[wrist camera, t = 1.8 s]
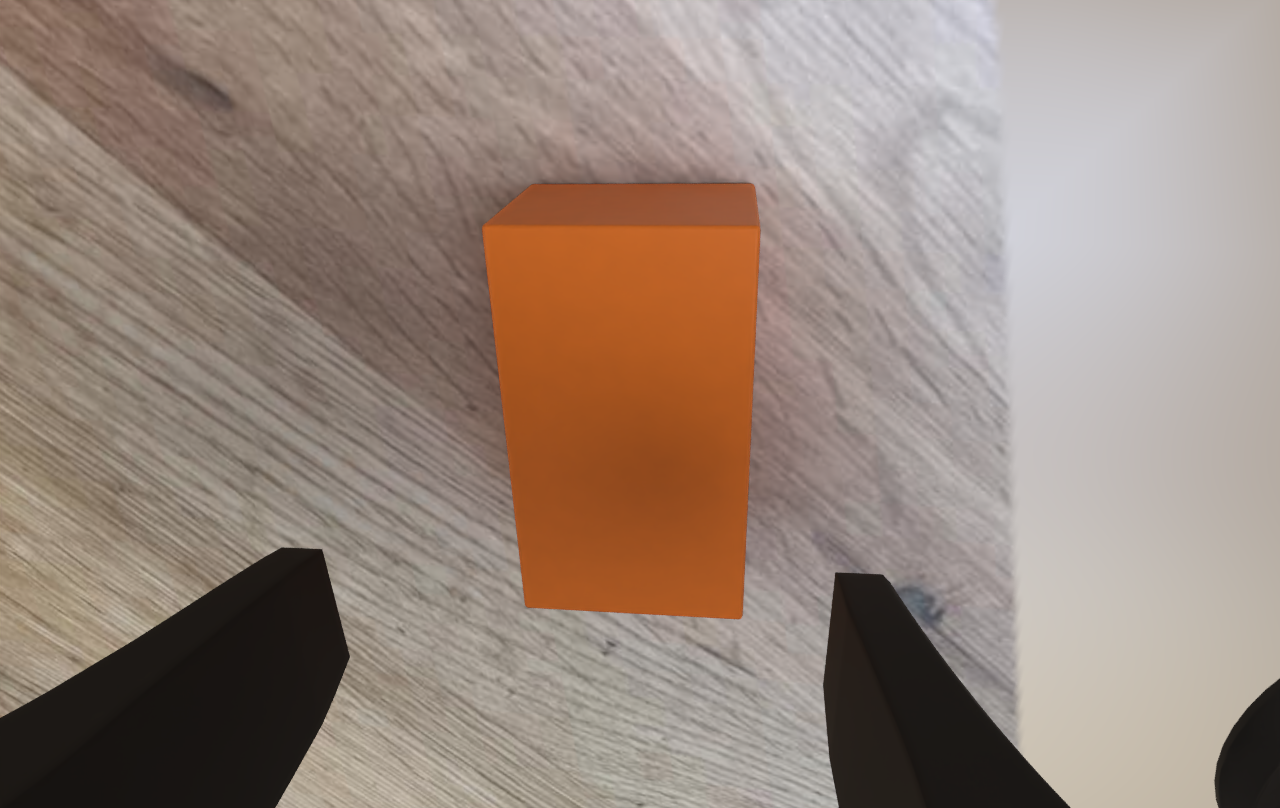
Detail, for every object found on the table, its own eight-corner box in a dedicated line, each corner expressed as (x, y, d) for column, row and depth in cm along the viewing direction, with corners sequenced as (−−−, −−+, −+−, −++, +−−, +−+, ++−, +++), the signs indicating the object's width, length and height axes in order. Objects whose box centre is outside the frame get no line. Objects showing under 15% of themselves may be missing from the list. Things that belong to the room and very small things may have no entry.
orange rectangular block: (754, 182, 15) (761, 226, 12) (740, 520, 19) (742, 621, 16) (530, 183, 16) (480, 225, 13) (557, 512, 19) (524, 609, 16)
